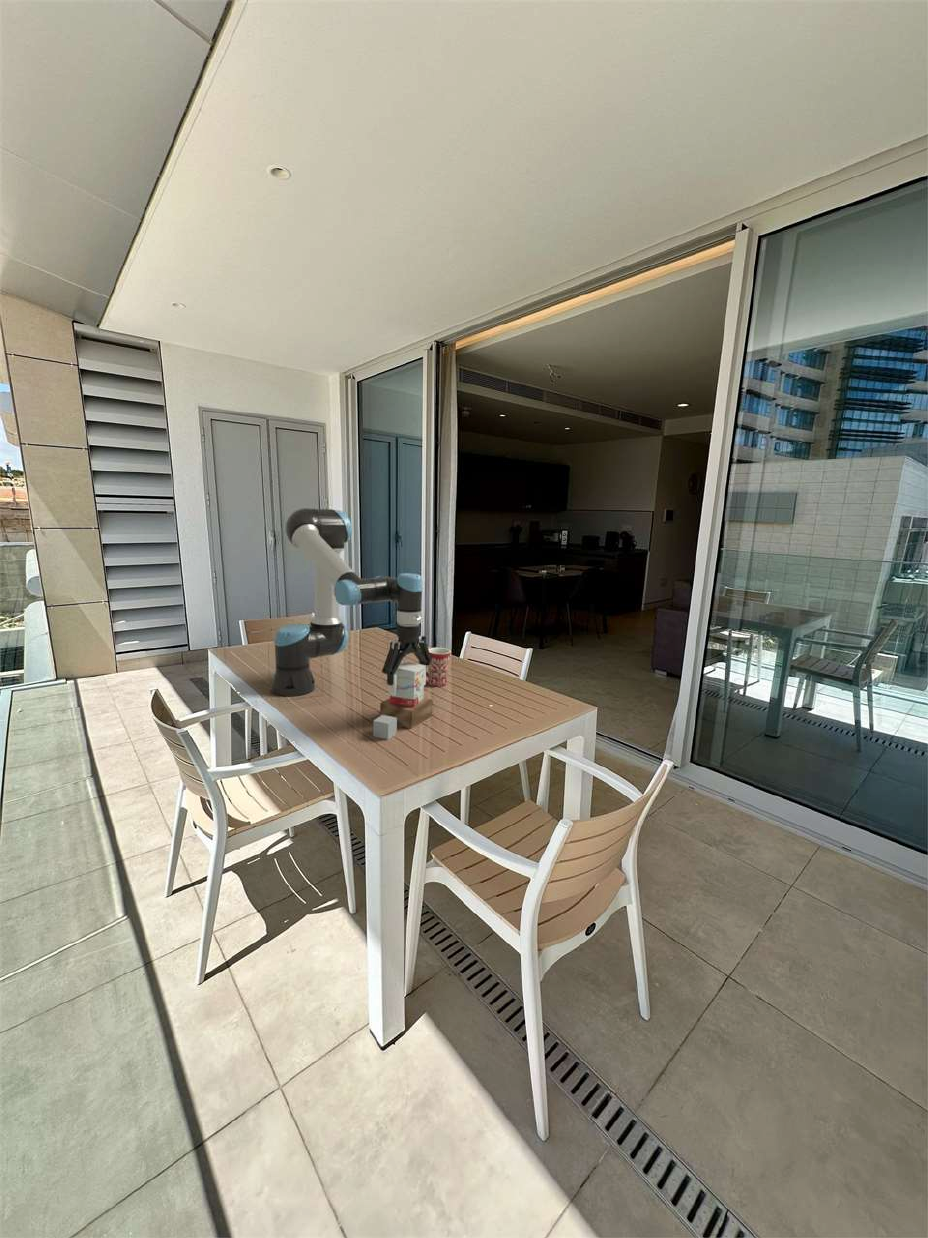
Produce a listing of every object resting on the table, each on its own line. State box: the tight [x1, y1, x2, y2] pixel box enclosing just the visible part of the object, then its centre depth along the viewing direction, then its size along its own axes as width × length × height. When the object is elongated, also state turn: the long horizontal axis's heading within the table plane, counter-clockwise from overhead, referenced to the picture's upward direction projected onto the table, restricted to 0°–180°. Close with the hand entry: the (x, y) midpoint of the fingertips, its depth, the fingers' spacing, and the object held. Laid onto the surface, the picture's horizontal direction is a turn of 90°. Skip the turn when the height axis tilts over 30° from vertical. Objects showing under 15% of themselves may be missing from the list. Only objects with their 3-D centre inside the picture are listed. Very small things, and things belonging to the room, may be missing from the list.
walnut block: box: [379, 696, 434, 730], centre depth 160 cm, size 12×12×6 cm
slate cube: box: [372, 715, 398, 741], centre depth 147 cm, size 5×5×5 cm
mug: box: [418, 647, 451, 688], centre depth 194 cm, size 13×9×14 cm
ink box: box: [389, 661, 425, 707], centre depth 158 cm, size 9×9×12 cm
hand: (407, 689), depth 159 cm, fingers open, 13 cm apart
